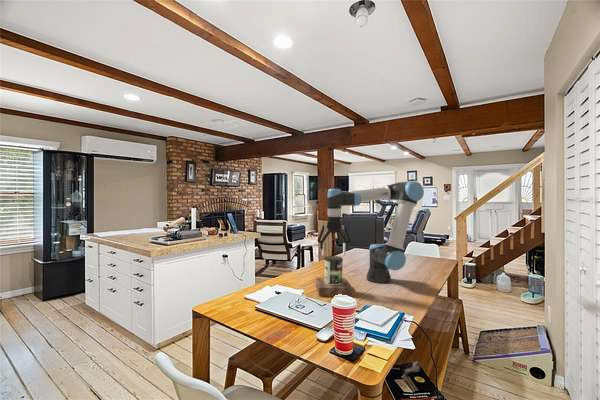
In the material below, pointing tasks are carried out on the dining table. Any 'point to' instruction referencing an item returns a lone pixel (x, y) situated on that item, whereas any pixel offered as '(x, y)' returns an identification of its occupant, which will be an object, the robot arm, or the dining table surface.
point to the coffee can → (333, 270)
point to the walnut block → (333, 288)
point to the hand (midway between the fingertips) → (333, 254)
